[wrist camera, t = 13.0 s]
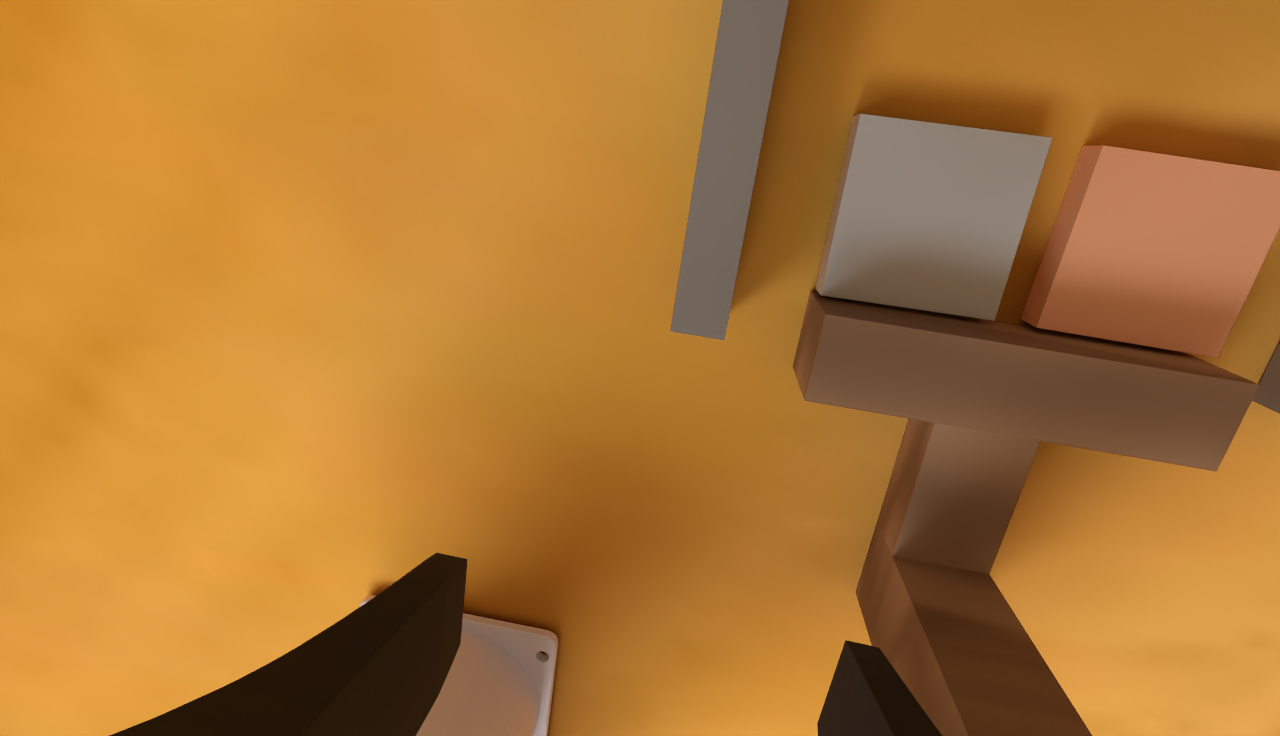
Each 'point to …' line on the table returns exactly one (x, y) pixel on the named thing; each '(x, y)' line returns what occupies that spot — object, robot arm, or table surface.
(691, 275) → the grey flat u-shaped piece
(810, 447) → the table surface
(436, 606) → the robot arm
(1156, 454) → the scraper
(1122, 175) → the tile terracotta
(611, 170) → the table surface
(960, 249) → the tile slate
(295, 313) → the table surface
